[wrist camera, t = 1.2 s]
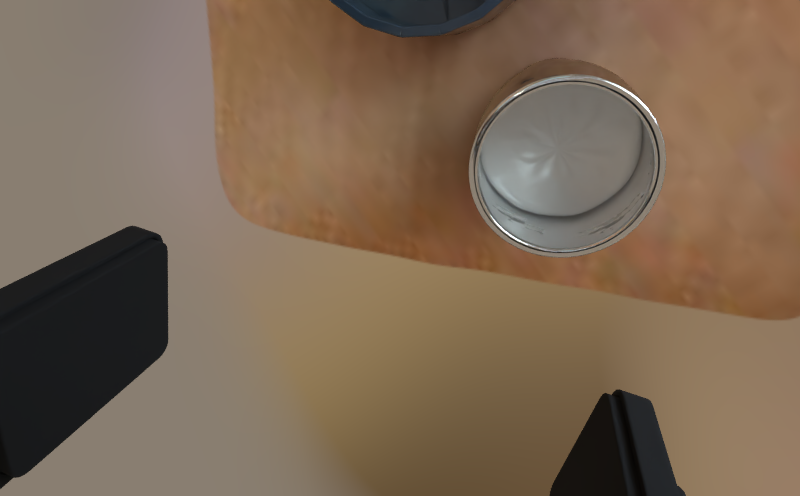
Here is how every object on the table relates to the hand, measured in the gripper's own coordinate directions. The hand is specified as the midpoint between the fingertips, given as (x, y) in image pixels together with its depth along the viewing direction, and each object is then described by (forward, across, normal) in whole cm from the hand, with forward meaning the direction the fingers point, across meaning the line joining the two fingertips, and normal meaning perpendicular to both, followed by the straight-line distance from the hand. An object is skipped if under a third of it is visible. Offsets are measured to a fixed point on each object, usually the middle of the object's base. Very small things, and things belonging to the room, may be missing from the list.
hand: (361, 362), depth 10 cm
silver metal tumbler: (+25, -4, -2) cm, 25 cm away
